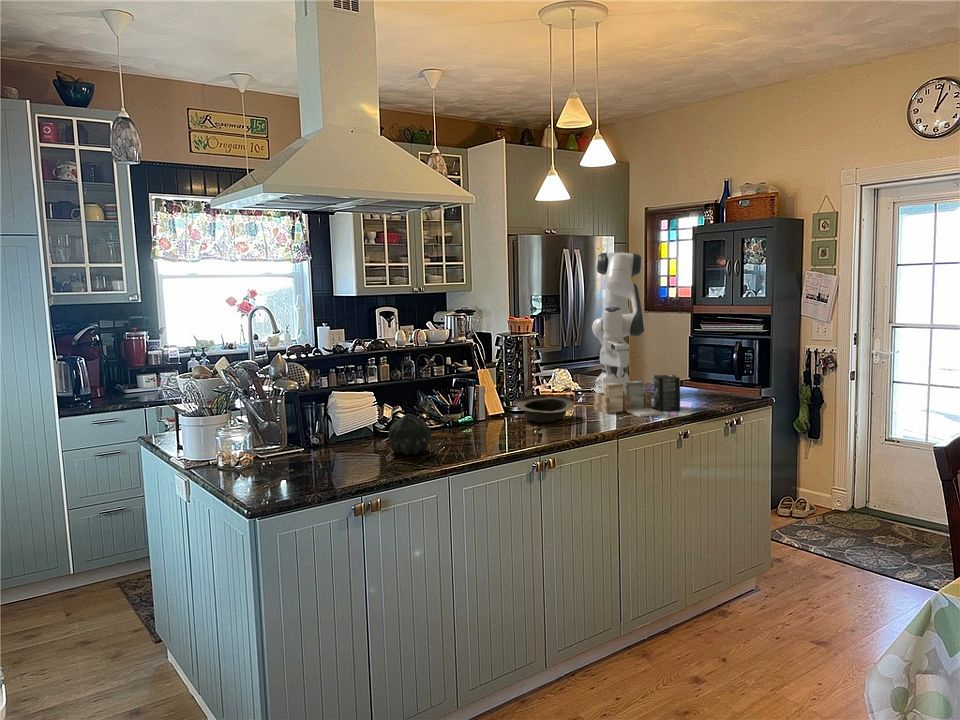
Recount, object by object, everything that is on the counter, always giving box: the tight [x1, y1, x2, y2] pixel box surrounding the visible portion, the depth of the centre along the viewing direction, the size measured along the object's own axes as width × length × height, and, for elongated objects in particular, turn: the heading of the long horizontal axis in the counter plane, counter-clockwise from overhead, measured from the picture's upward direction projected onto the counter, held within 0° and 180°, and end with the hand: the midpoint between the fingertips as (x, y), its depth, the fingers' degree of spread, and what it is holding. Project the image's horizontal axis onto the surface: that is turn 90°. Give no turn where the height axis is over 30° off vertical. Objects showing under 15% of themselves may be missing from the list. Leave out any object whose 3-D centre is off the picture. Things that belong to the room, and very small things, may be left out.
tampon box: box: [653, 374, 681, 412], centre depth 319 cm, size 11×9×15 cm
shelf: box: [592, 380, 652, 415], centre depth 321 cm, size 13×22×12 cm, turn 107°
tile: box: [626, 407, 664, 418], centre depth 311 cm, size 11×11×1 cm
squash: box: [388, 413, 432, 456], centre depth 254 cm, size 14×15×15 cm
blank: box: [604, 383, 624, 413], centre depth 318 cm, size 4×7×12 cm, turn 107°
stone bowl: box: [514, 393, 575, 424], centre depth 305 cm, size 25×25×9 cm
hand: (614, 376), depth 317 cm, fingers open, 8 cm apart
